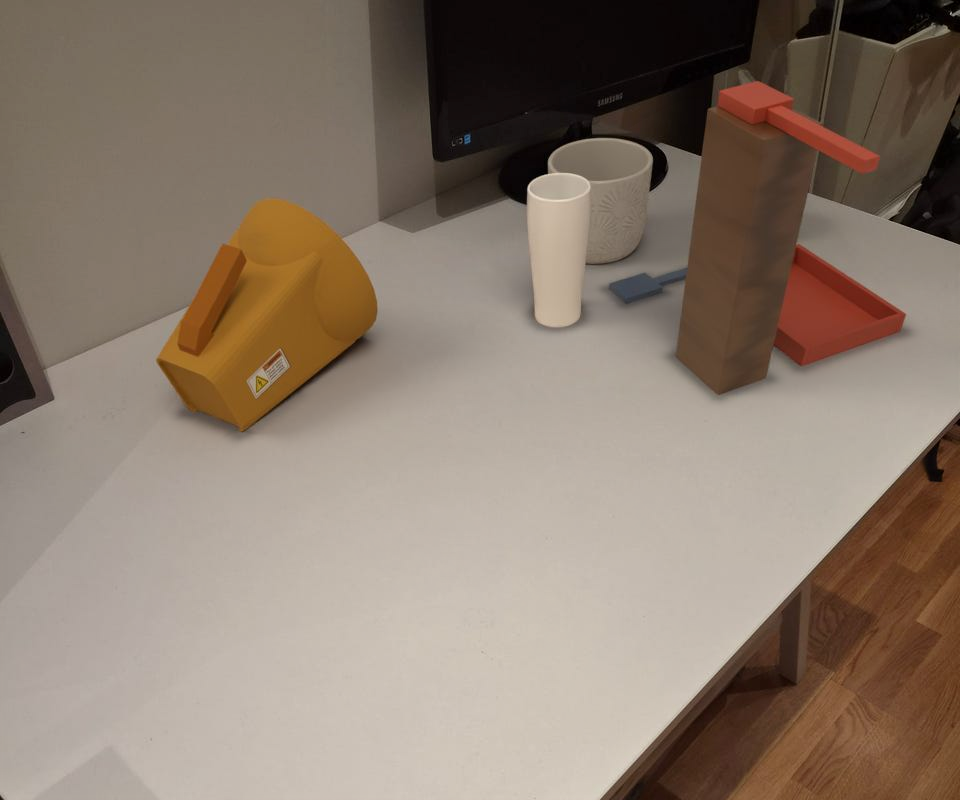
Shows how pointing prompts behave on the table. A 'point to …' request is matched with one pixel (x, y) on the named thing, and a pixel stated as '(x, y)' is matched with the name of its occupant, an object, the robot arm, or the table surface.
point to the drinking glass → (558, 245)
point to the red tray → (829, 312)
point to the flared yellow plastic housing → (268, 315)
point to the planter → (610, 192)
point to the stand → (741, 247)
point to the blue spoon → (644, 285)
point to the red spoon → (793, 123)
